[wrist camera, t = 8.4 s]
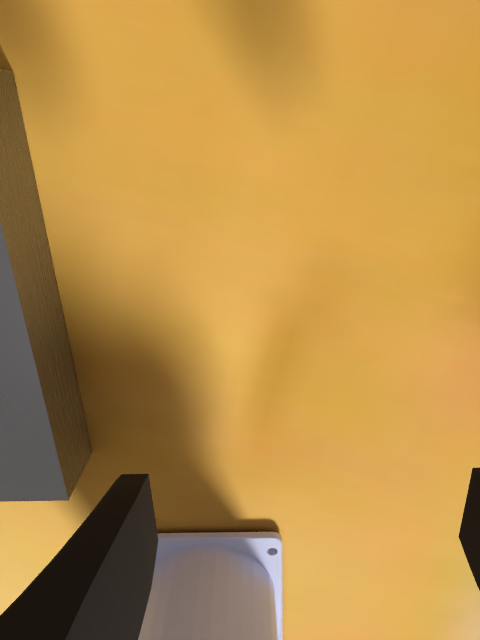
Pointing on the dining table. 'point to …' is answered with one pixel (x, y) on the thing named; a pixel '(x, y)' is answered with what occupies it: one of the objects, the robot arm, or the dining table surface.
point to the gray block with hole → (32, 336)
